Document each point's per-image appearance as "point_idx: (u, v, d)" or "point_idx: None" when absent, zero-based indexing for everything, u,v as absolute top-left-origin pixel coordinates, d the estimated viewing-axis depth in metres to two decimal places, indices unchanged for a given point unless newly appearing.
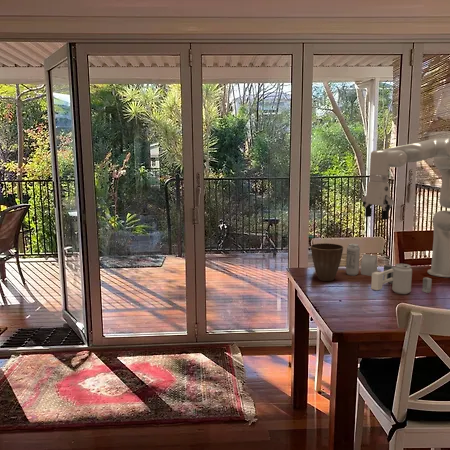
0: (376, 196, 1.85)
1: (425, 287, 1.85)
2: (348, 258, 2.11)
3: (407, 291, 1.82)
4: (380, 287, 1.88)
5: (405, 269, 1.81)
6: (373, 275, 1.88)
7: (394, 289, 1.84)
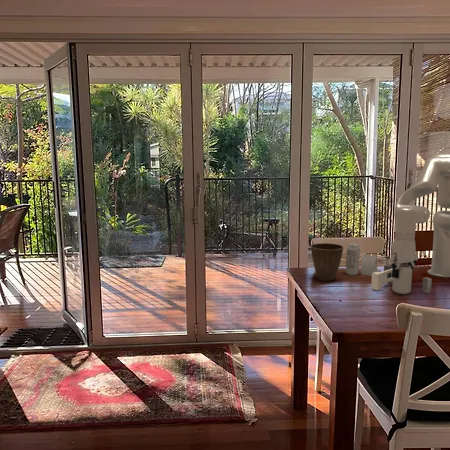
0: (411, 254, 1.81)
1: (425, 287, 1.85)
2: (348, 258, 2.11)
3: (407, 291, 1.82)
4: (380, 287, 1.88)
5: (405, 269, 1.81)
6: (373, 275, 1.88)
7: (394, 289, 1.84)
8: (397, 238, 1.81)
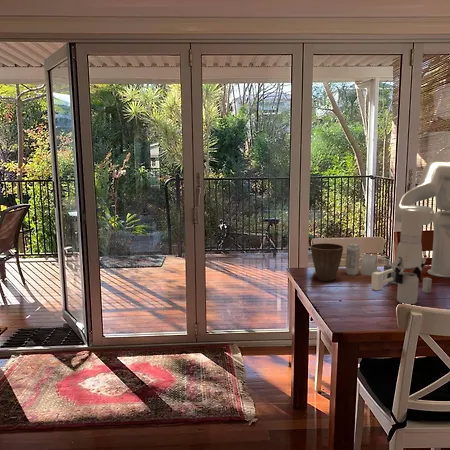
0: (417, 258, 1.68)
1: (425, 287, 1.85)
2: (348, 258, 2.11)
3: (413, 302, 1.69)
4: (380, 287, 1.88)
5: (411, 278, 1.68)
6: (373, 275, 1.88)
7: (399, 300, 1.71)
8: (402, 241, 1.67)
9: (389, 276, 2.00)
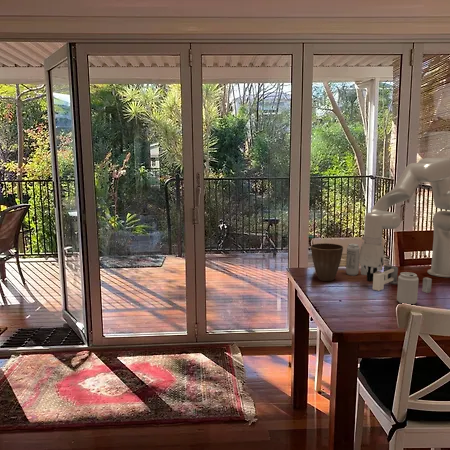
0: None
1: (425, 287, 1.85)
2: (348, 258, 2.11)
3: (413, 302, 1.69)
4: (381, 287, 1.88)
5: (411, 278, 1.67)
6: (375, 275, 1.87)
7: (399, 300, 1.71)
8: (379, 243, 1.86)
9: (389, 276, 2.00)
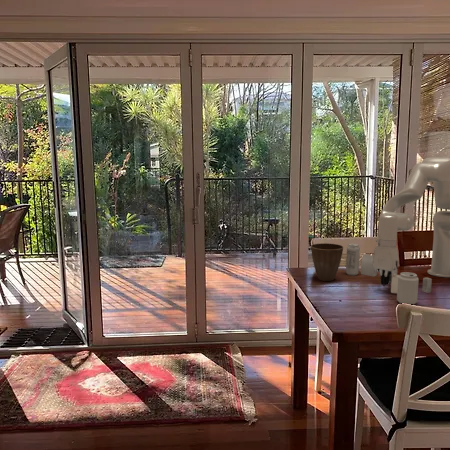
0: None
1: (425, 287, 1.85)
2: (348, 258, 2.11)
3: (413, 302, 1.69)
4: None
5: (411, 278, 1.67)
6: (393, 278, 1.82)
7: (399, 300, 1.71)
8: (393, 246, 1.81)
9: (389, 276, 2.00)
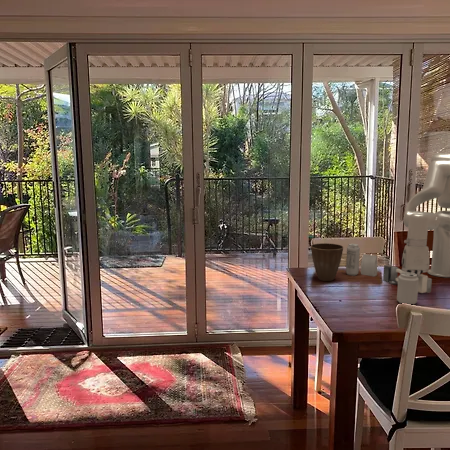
0: None
1: None
2: (348, 258, 2.11)
3: (413, 302, 1.69)
4: None
5: (411, 278, 1.67)
6: (423, 278, 1.82)
7: (399, 300, 1.71)
8: None
9: (389, 276, 2.00)
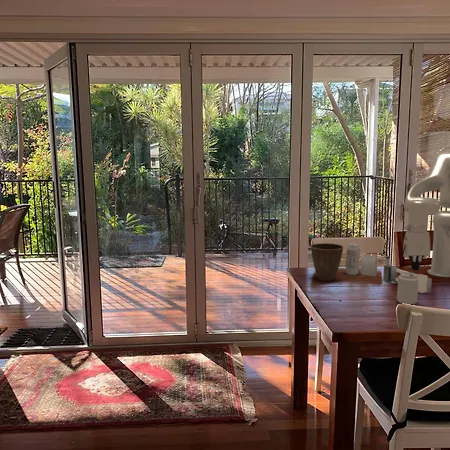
0: None
1: None
2: (348, 258, 2.11)
3: (413, 302, 1.69)
4: None
5: (411, 278, 1.67)
6: (423, 278, 1.82)
7: (399, 300, 1.71)
8: None
9: (389, 276, 2.00)
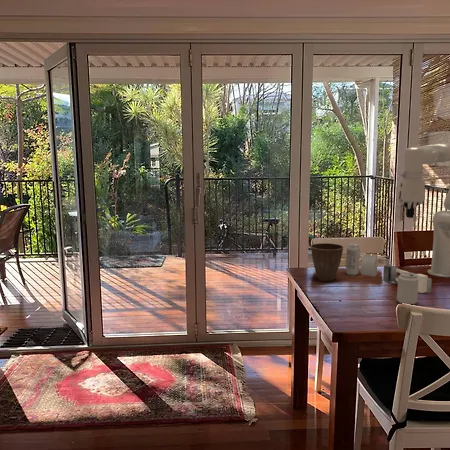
0: None
1: None
2: (348, 258, 2.11)
3: (413, 302, 1.69)
4: None
5: (411, 278, 1.67)
6: (423, 278, 1.82)
7: (399, 300, 1.71)
8: None
9: (389, 276, 2.00)
